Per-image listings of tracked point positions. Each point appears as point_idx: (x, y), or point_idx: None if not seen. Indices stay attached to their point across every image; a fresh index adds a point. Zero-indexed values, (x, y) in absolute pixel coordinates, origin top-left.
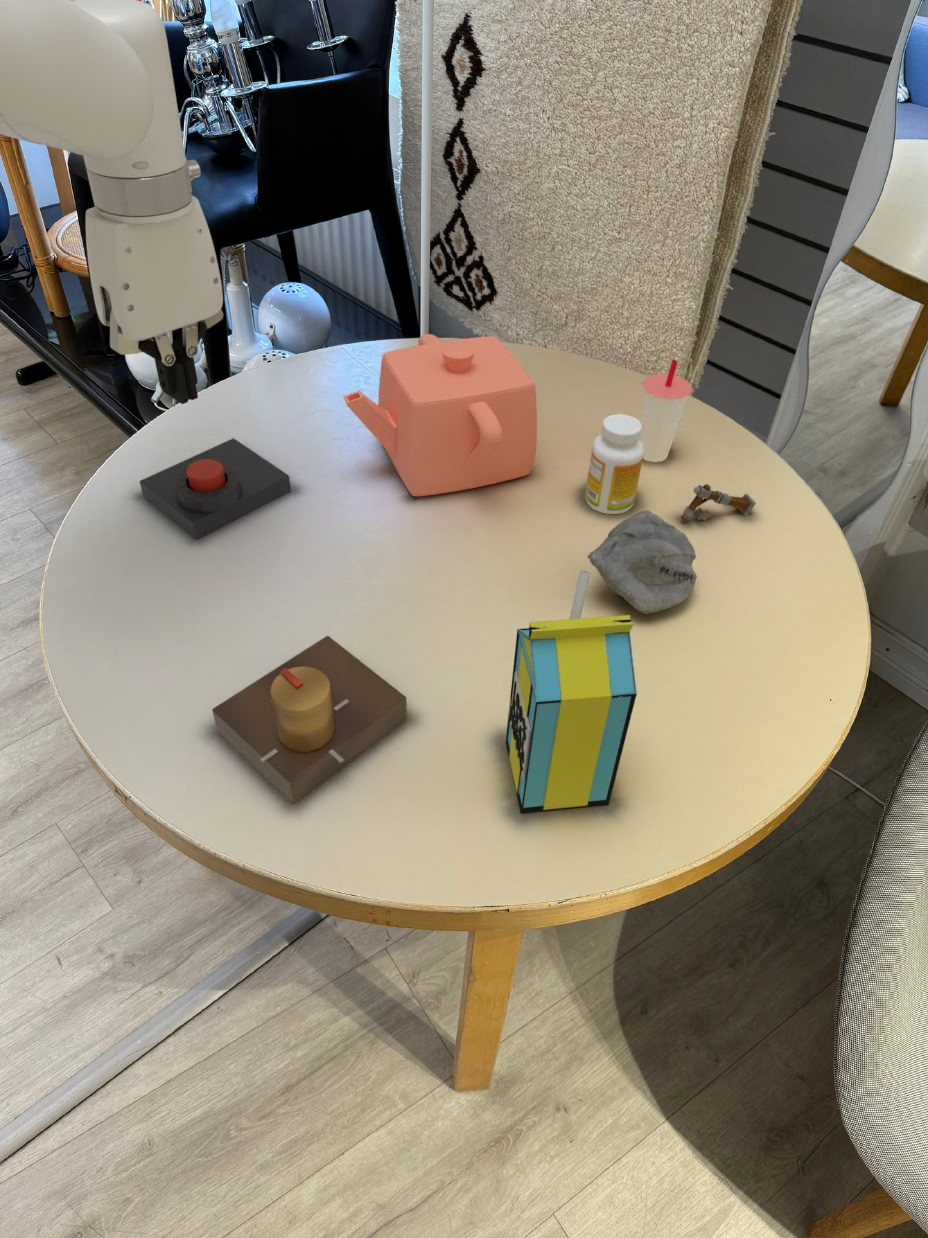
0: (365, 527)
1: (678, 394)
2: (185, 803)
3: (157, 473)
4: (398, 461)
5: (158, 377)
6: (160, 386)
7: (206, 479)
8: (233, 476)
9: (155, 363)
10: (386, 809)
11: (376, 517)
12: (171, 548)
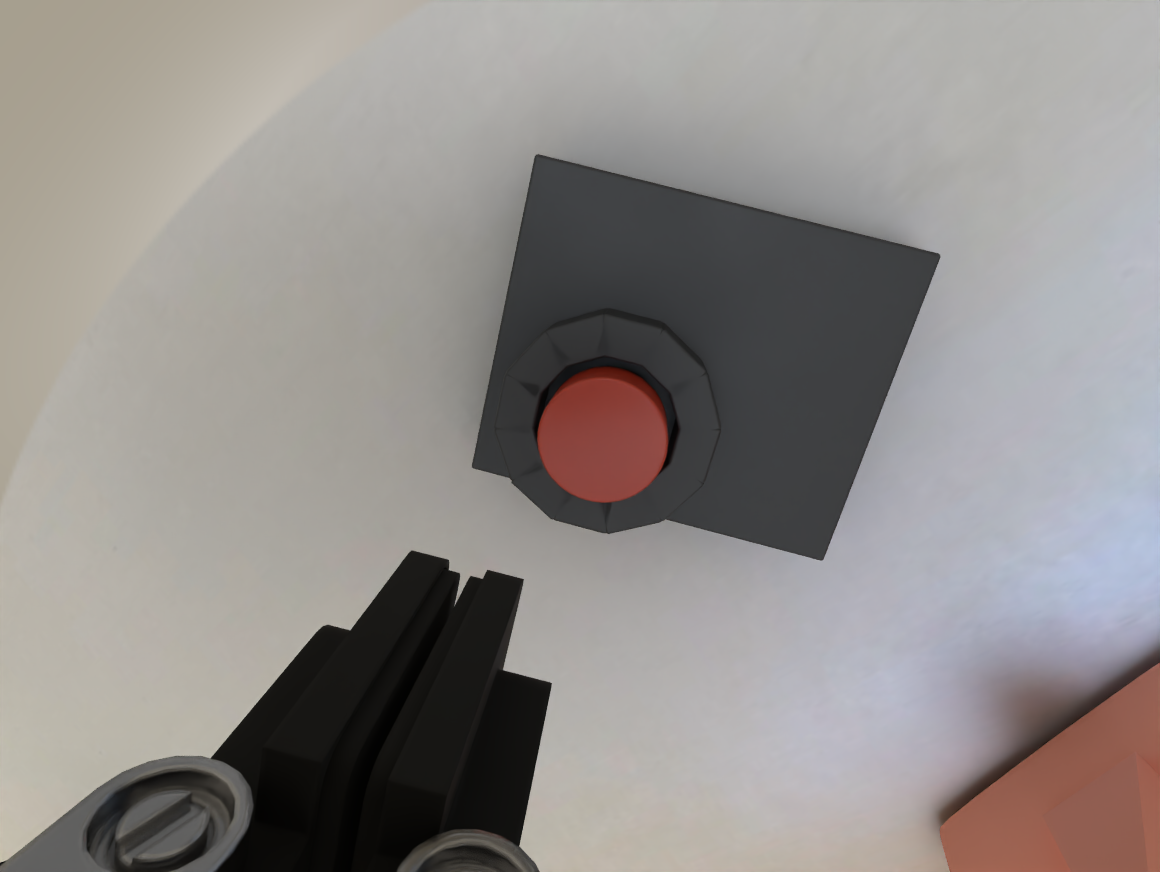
0: (767, 767)
1: None
2: (14, 843)
3: (603, 177)
4: (1029, 827)
5: (285, 670)
6: (321, 629)
7: (558, 484)
8: (667, 492)
9: (212, 756)
10: None
11: (819, 771)
12: (423, 411)
